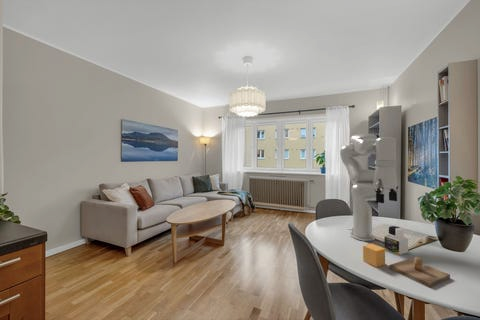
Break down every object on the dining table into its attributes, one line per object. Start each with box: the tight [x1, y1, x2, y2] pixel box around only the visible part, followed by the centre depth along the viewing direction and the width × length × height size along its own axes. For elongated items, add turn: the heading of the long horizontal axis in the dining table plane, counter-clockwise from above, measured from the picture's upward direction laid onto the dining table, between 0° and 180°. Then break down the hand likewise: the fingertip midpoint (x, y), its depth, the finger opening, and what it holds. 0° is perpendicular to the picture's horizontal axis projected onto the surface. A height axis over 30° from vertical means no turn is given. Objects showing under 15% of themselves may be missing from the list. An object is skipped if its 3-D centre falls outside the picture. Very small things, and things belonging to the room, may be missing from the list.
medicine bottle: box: [383, 225, 409, 256], centre depth 104 cm, size 7×7×12 cm
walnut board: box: [388, 256, 451, 288], centre depth 84 cm, size 14×14×6 cm
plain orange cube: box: [362, 243, 386, 268], centre depth 93 cm, size 6×6×7 cm
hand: (386, 201), depth 94 cm, fingers open, 9 cm apart
